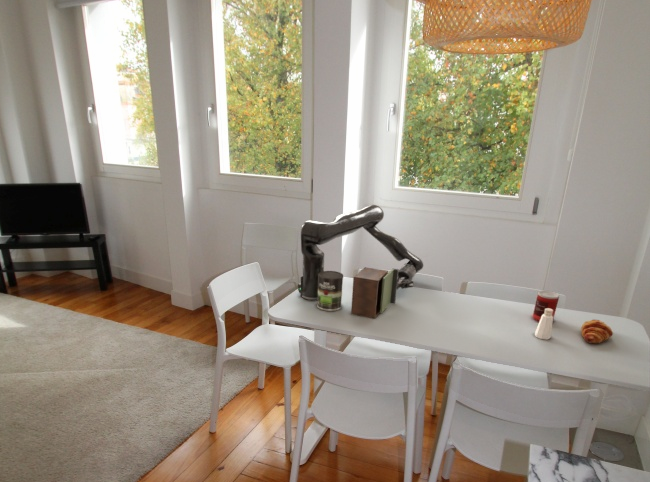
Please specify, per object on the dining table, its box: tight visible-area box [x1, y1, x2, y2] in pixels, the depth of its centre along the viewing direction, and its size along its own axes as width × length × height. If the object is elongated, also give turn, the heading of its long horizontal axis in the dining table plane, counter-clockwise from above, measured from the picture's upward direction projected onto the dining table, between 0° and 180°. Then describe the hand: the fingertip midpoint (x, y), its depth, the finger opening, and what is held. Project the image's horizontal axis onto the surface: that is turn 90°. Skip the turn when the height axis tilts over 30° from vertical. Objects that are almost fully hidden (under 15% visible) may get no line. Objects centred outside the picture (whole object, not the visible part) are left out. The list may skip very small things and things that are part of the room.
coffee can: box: [316, 270, 344, 312], centre depth 194 cm, size 10×10×14 cm
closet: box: [350, 267, 389, 320], centre depth 191 cm, size 10×14×16 cm
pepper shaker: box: [534, 308, 554, 341], centre depth 172 cm, size 5×5×11 cm
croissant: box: [580, 319, 614, 344], centre depth 174 cm, size 21×10×8 cm, turn 141°
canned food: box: [532, 290, 560, 323], centre depth 187 cm, size 8×8×11 cm
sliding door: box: [379, 268, 400, 314], centre depth 193 cm, size 3×14×15 cm, turn 155°
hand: (393, 287), depth 199 cm, fingers closed
